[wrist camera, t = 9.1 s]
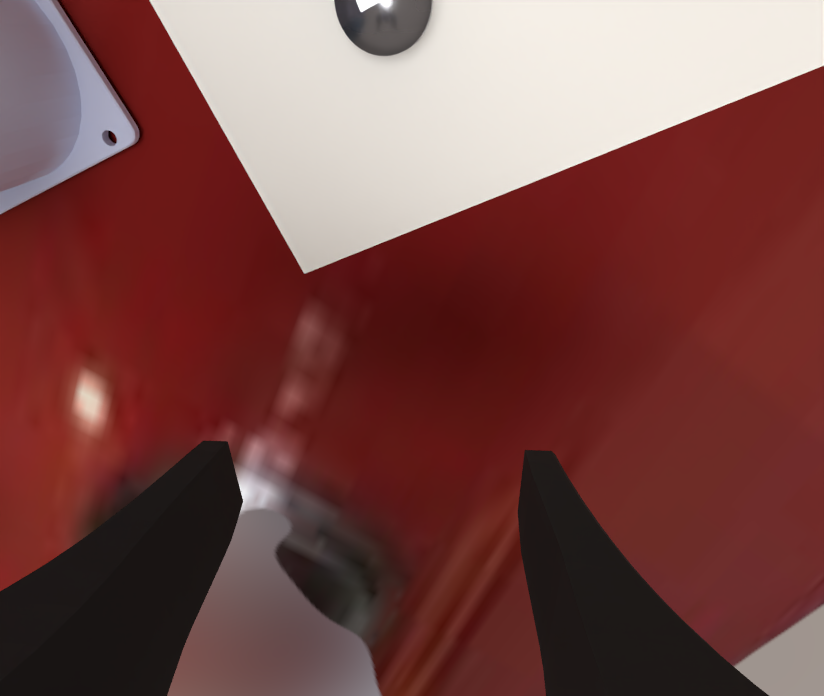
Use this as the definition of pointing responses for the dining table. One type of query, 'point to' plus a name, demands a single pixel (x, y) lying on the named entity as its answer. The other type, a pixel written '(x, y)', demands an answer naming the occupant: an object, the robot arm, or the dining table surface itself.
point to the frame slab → (463, 97)
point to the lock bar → (384, 23)
